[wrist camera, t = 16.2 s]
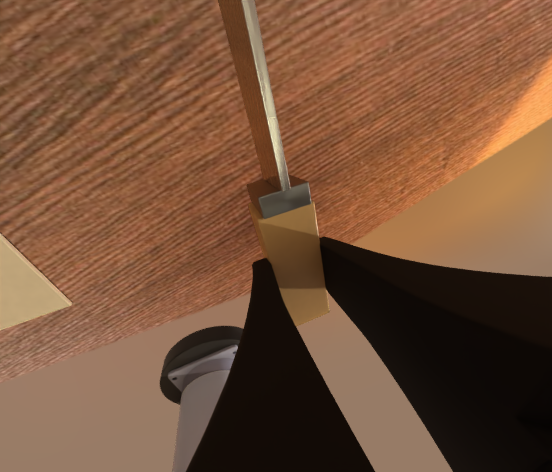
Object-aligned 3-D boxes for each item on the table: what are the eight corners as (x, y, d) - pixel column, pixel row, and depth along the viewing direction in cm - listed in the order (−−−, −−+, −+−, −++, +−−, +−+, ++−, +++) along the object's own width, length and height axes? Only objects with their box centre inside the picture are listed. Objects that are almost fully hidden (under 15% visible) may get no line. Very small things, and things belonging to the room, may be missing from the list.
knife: (158, -83, 5) (110, -283, 3) (241, -89, 5) (263, -273, 3) (277, 299, 11) (293, 338, 9) (311, 285, 12) (335, 320, 9)
